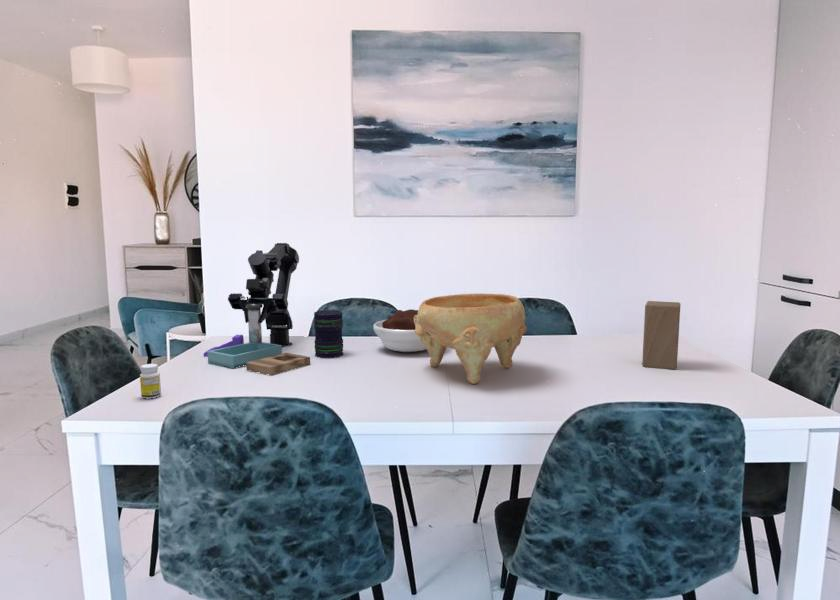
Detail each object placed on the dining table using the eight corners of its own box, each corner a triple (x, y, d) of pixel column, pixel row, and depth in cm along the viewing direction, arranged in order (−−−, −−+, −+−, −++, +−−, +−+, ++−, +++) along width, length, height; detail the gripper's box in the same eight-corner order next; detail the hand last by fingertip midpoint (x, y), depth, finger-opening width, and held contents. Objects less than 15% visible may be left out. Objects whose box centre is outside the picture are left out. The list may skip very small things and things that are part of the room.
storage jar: (309, 356, 196) (307, 313, 194) (324, 351, 205) (323, 309, 203) (334, 359, 192) (333, 315, 190) (348, 353, 201) (348, 311, 199)
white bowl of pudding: (361, 354, 199) (361, 311, 197) (390, 340, 222) (389, 302, 220) (429, 360, 190) (429, 315, 188) (451, 345, 214) (451, 305, 212)
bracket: (244, 352, 204) (243, 333, 203) (239, 357, 197) (238, 337, 196) (210, 353, 203) (209, 334, 202) (203, 357, 196) (202, 338, 195)
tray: (256, 352, 203) (256, 341, 203) (282, 356, 196) (281, 345, 195) (208, 363, 187) (207, 351, 186) (233, 368, 179) (233, 356, 179)
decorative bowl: (462, 353, 200) (463, 288, 197) (548, 371, 176) (550, 297, 173) (389, 370, 177) (389, 297, 174) (476, 394, 152) (477, 308, 149)
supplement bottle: (145, 394, 153) (143, 363, 152) (163, 393, 153) (162, 363, 152) (138, 399, 148) (136, 367, 147) (157, 399, 148) (155, 367, 147)
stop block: (286, 360, 191) (286, 352, 191) (310, 364, 185) (310, 356, 184) (246, 370, 177) (246, 362, 177) (270, 375, 171) (270, 367, 171)
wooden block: (677, 363, 186) (680, 302, 183) (676, 370, 177) (680, 306, 174) (644, 360, 190) (647, 300, 187) (642, 367, 181) (645, 304, 178)
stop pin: (260, 340, 191) (258, 302, 189) (266, 343, 187) (264, 303, 185) (244, 342, 188) (243, 303, 186) (250, 345, 184) (248, 305, 182)
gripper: (228, 269, 188) (216, 307, 179) (284, 269, 187) (275, 308, 178) (238, 289, 197) (227, 327, 188) (291, 290, 196) (283, 327, 187)
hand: (253, 322), depth 185 cm, fingers closed on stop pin, 4 cm apart
